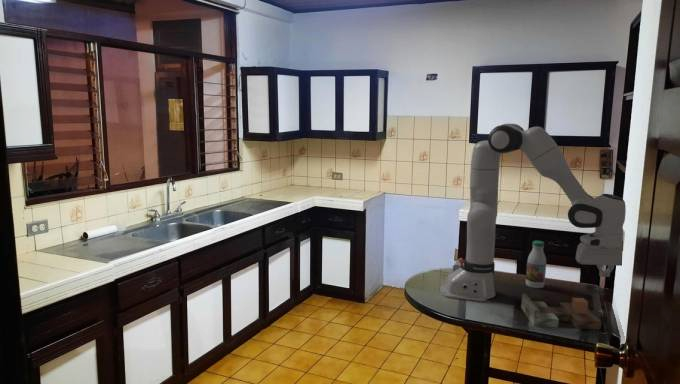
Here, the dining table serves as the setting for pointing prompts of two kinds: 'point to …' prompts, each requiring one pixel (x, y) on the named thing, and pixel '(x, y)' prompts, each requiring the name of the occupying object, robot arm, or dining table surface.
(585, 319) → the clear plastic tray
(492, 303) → the dining table surface
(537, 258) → the milk bottle
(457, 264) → the charger
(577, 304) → the terracotta cube
